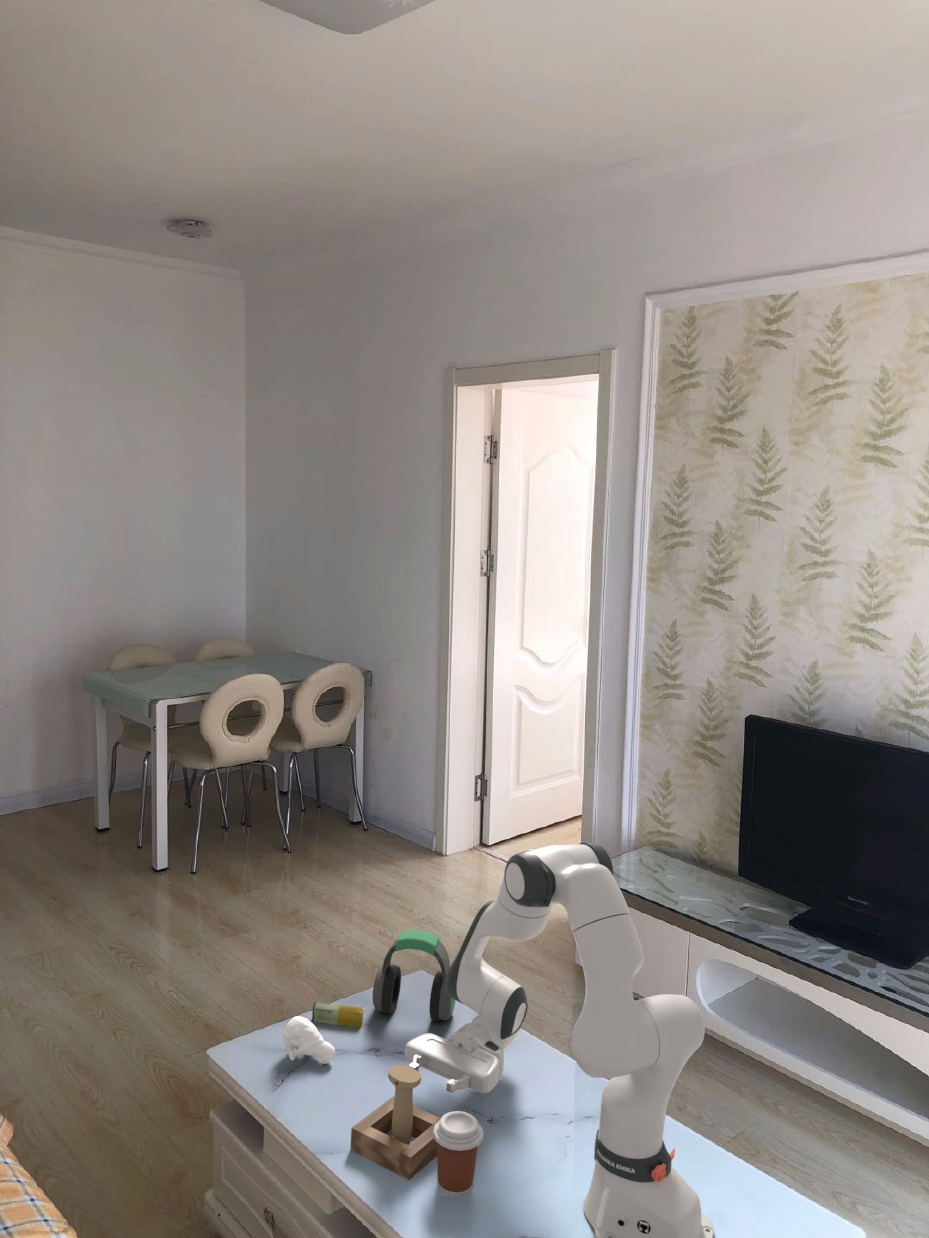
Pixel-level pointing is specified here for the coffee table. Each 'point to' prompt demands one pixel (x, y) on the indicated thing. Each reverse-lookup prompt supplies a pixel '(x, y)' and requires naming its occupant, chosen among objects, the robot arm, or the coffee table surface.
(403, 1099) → the handle
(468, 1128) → the coffee cup
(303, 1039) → the white lumpy rounded piece
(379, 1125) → the socket block
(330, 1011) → the medication box
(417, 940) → the headphones
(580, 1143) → the coffee table surface
